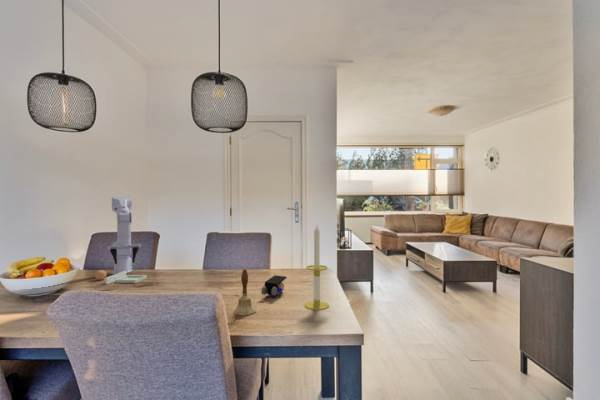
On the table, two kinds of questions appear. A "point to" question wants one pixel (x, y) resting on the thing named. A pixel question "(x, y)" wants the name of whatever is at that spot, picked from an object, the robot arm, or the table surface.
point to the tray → (131, 279)
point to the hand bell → (244, 299)
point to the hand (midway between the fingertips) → (124, 263)
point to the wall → (115, 277)
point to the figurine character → (273, 286)
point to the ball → (100, 275)
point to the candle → (316, 277)
